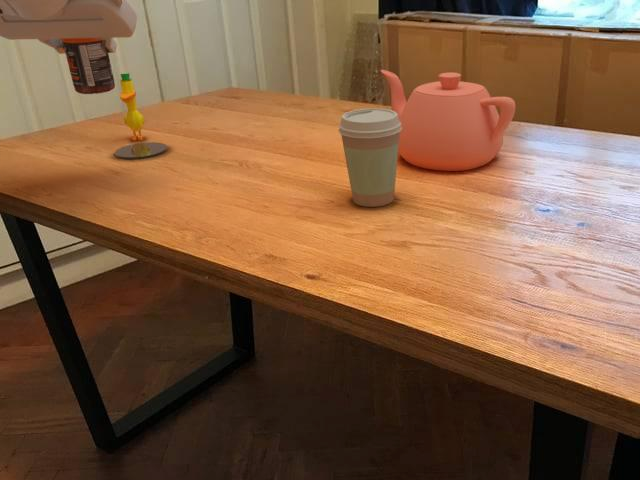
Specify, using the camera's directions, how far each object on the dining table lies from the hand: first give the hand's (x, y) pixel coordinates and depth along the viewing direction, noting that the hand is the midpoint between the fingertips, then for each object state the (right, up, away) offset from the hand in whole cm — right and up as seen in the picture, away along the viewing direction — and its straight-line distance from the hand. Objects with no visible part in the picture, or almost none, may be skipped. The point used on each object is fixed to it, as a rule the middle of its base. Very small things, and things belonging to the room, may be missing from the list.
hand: (88, 49), depth 100 cm
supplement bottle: (0, -6, +2) cm, 6 cm away
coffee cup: (+43, -24, -6) cm, 50 cm away
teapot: (+55, -14, +10) cm, 58 cm away
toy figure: (-2, -8, +26) cm, 27 cm away
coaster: (+1, -12, +18) cm, 22 cm away
